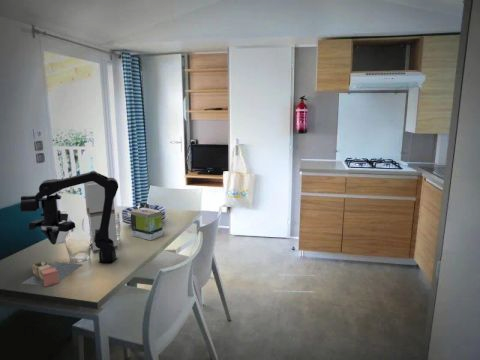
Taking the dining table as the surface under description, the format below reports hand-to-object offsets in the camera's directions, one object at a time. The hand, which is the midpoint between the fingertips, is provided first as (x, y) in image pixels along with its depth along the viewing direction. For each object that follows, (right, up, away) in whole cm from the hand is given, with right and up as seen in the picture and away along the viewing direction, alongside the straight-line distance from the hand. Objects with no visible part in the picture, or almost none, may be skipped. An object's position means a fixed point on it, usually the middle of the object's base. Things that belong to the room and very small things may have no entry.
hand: (54, 244), depth 149 cm
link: (-1, -13, -5) cm, 14 cm away
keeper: (+4, -14, -10) cm, 18 cm away
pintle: (-4, -12, -1) cm, 13 cm away
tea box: (+29, -4, +44) cm, 53 cm away
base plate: (+1, -13, -2) cm, 13 cm away
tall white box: (+11, -7, +26) cm, 29 cm away
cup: (-16, -5, +37) cm, 40 cm away
